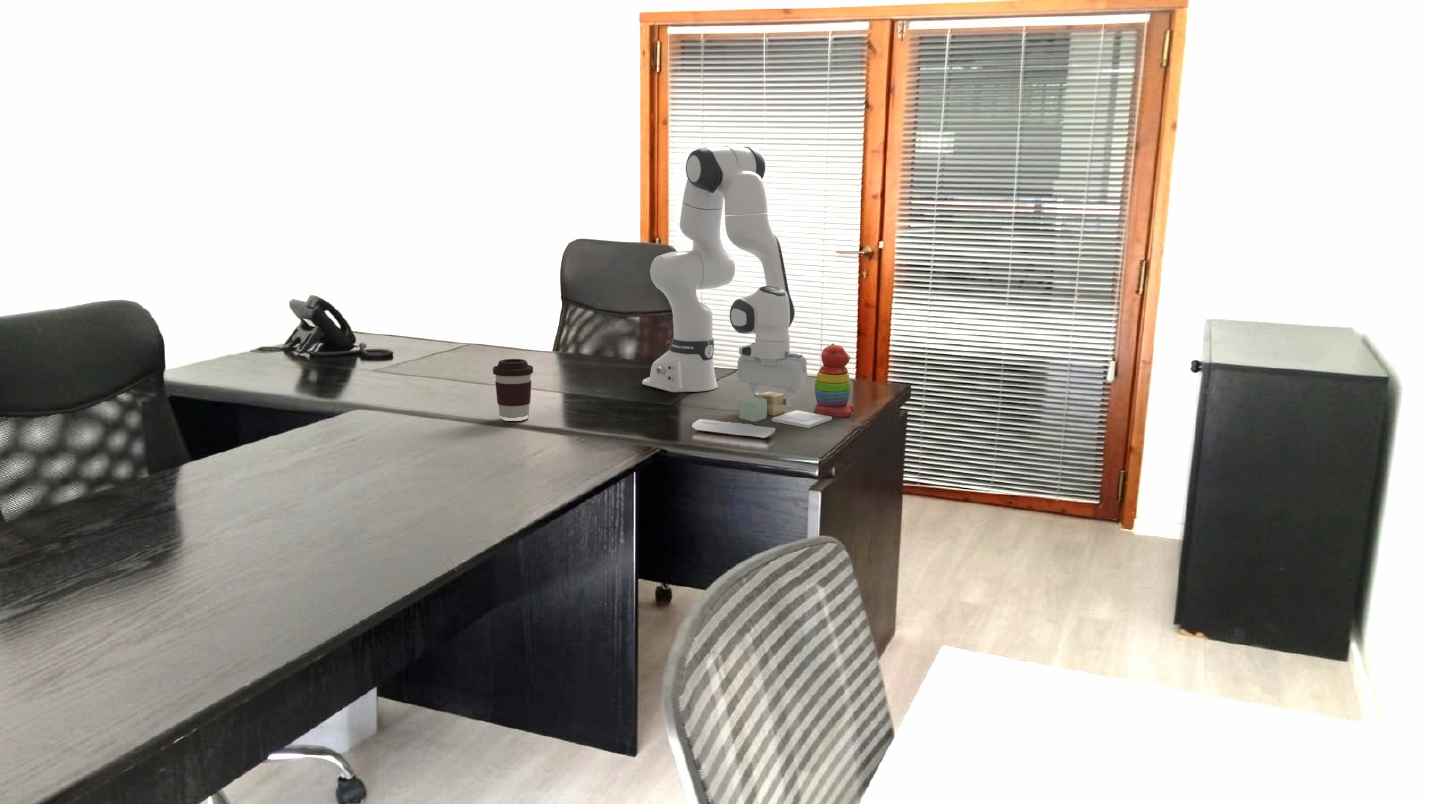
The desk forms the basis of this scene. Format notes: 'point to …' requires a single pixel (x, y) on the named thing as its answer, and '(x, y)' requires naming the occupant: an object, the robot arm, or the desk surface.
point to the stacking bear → (833, 383)
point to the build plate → (802, 419)
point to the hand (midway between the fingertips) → (771, 402)
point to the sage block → (753, 409)
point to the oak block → (773, 402)
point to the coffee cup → (513, 387)
